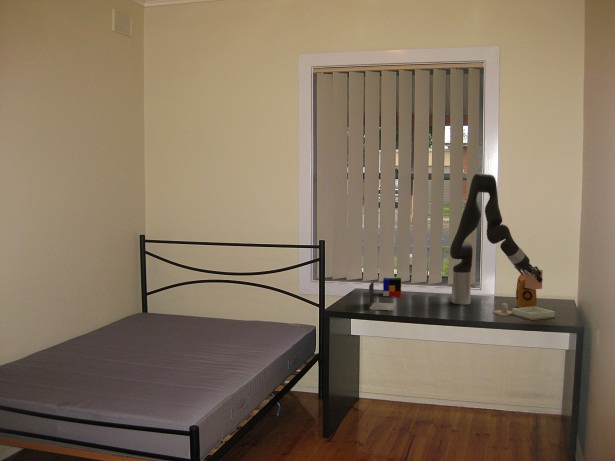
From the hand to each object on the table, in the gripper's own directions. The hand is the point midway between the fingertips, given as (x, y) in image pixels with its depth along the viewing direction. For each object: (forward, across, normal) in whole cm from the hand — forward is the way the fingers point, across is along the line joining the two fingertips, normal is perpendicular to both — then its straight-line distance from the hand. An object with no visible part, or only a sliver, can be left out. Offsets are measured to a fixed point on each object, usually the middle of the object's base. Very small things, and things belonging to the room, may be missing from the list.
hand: (536, 280), depth 310 cm
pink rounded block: (+1, 0, +4) cm, 4 cm away
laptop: (-28, +49, +54) cm, 78 cm away
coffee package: (+18, +16, +7) cm, 25 cm away
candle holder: (+5, +10, +20) cm, 23 cm away
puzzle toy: (-13, +77, +38) cm, 87 cm away
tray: (+11, 0, +14) cm, 18 cm away
